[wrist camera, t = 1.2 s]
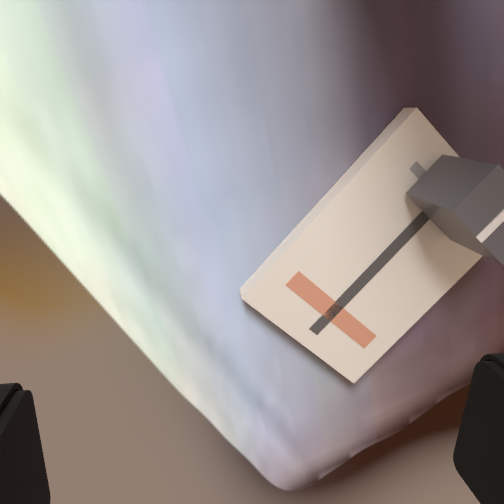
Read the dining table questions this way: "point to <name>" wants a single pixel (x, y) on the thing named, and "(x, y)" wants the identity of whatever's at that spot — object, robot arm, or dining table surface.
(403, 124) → the fader console
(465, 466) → the robot arm
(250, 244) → the dining table surface
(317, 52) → the dining table surface
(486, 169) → the fader knob
